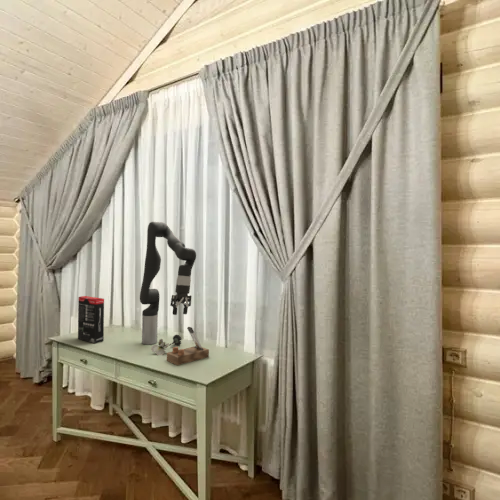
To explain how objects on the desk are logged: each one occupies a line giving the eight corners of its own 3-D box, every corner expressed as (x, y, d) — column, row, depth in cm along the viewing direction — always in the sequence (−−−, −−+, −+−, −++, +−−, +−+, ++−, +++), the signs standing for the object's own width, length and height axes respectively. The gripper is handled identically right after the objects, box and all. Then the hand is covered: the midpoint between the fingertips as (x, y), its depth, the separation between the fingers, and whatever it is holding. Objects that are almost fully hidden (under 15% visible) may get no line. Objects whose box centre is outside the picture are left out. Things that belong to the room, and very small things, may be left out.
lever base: (197, 352, 190) (197, 341, 190) (208, 356, 183) (208, 344, 183) (166, 360, 175) (166, 347, 175) (177, 365, 168) (177, 352, 168)
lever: (197, 348, 185) (198, 346, 186) (200, 349, 183) (202, 347, 184) (187, 328, 180) (188, 326, 181) (190, 329, 178) (191, 327, 179)
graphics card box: (104, 341, 209) (105, 297, 209) (94, 344, 203) (95, 299, 203) (86, 337, 217) (87, 295, 217) (76, 339, 211) (77, 296, 211)
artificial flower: (184, 347, 203) (187, 333, 201) (158, 362, 183) (160, 346, 181) (173, 341, 207) (175, 327, 205) (146, 356, 187) (148, 340, 185)
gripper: (186, 284, 190) (182, 313, 188) (169, 283, 178) (165, 314, 176) (196, 285, 186) (193, 314, 185) (180, 284, 174) (176, 315, 172)
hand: (179, 314), depth 180 cm, fingers open, 8 cm apart
